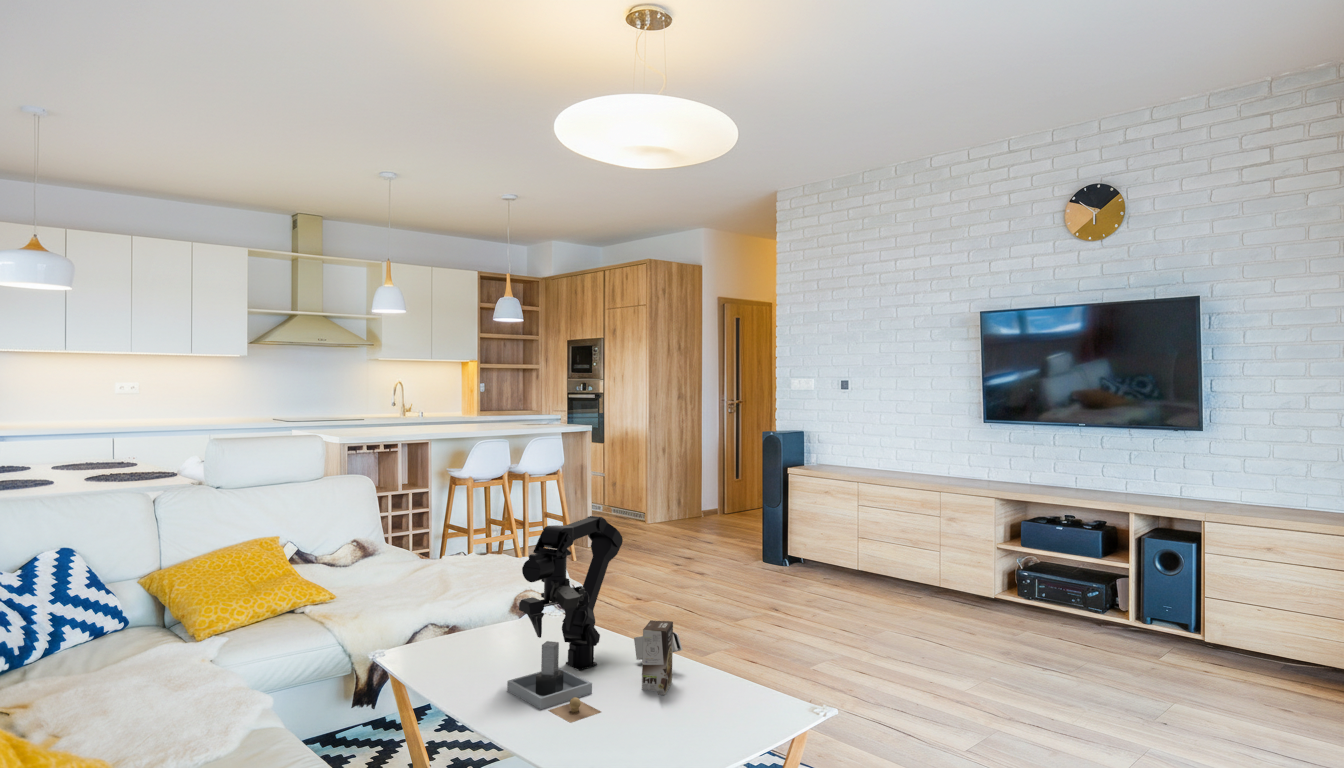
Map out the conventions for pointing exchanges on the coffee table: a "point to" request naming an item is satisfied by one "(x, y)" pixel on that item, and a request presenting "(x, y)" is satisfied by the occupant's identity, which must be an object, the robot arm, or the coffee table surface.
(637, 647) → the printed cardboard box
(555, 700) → the bin
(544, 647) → the strut
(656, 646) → the coffee box
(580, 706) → the stud mount
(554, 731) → the coffee table surface
